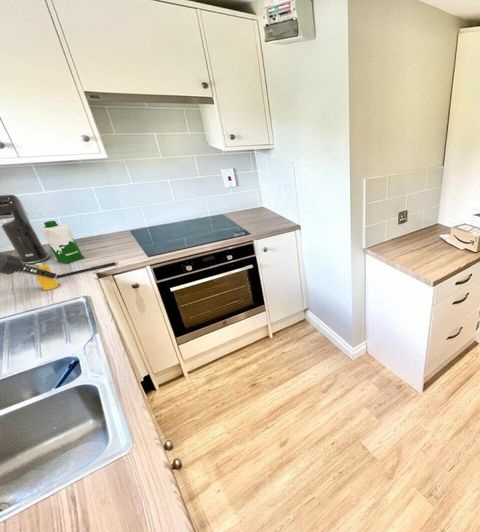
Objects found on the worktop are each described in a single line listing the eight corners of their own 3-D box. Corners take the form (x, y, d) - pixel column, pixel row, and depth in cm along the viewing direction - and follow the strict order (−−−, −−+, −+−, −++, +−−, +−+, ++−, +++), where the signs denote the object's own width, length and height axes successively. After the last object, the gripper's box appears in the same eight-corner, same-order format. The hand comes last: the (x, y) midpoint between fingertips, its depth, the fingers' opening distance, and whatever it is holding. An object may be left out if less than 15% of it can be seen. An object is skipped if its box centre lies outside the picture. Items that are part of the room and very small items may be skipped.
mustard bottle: (43, 286, 141) (30, 263, 135) (58, 283, 144) (46, 260, 138) (42, 291, 138) (29, 267, 132) (58, 287, 141) (45, 264, 135)
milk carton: (75, 254, 169) (57, 218, 160) (86, 257, 167) (69, 221, 157) (54, 261, 162) (35, 224, 152) (66, 264, 159) (47, 226, 150)
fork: (57, 276, 149) (56, 275, 149) (114, 263, 162) (114, 262, 162) (57, 278, 147) (56, 277, 147) (115, 264, 160) (115, 263, 160)
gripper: (15, 255, 123) (66, 269, 139) (-9, 250, 127) (44, 264, 143) (4, 274, 121) (57, 286, 137) (-20, 268, 125) (35, 280, 141)
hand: (50, 275), depth 140 cm, fingers closed on mustard bottle, 4 cm apart
